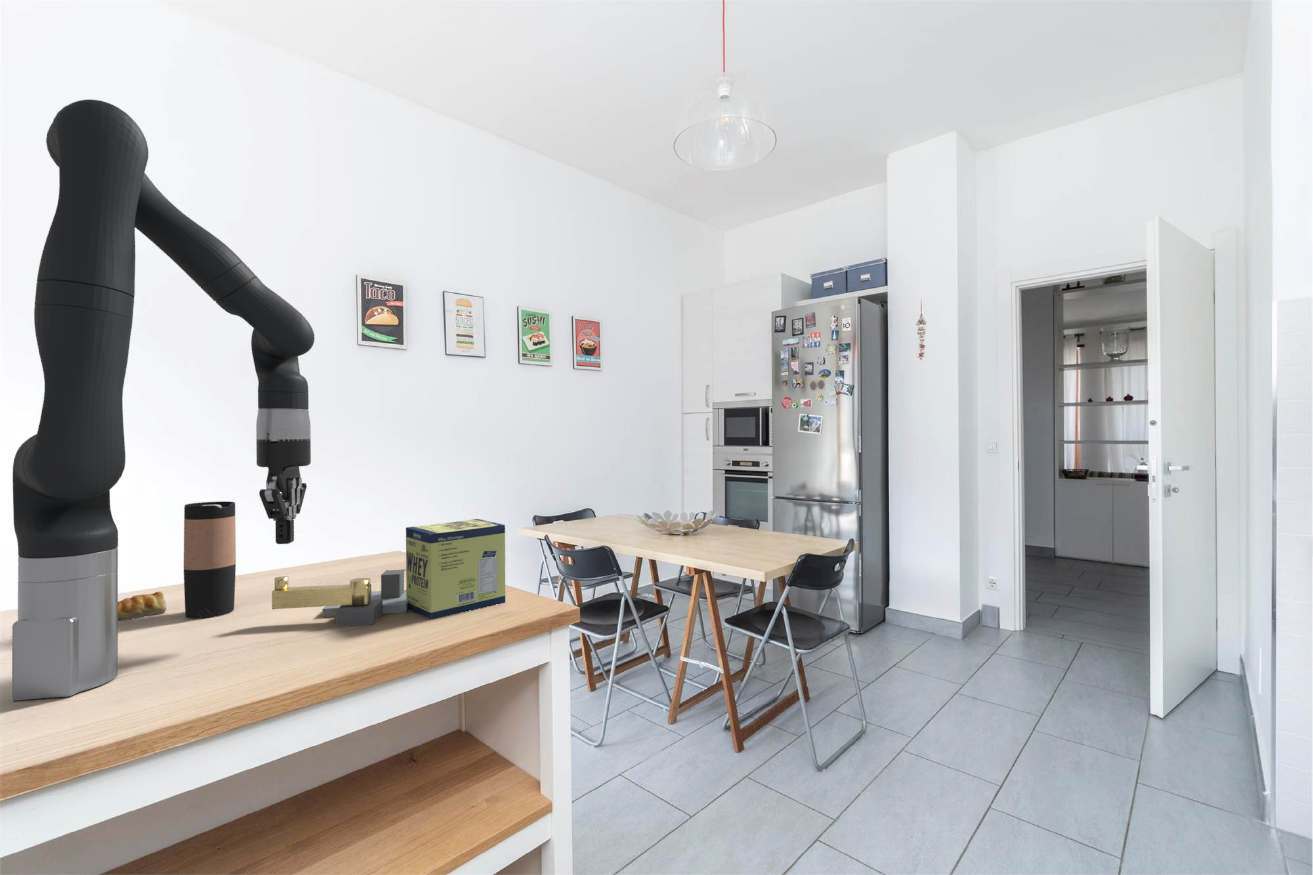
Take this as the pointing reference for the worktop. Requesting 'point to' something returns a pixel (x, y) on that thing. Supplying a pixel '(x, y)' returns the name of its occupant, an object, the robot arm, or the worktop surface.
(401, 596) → the plate
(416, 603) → the protein box
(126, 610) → the pastry
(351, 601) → the bar
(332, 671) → the worktop surface
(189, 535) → the travel mug
